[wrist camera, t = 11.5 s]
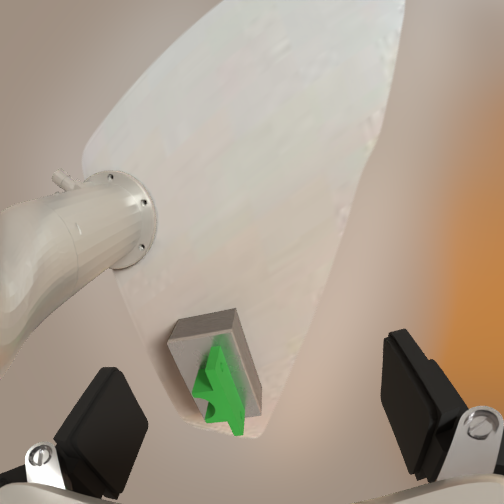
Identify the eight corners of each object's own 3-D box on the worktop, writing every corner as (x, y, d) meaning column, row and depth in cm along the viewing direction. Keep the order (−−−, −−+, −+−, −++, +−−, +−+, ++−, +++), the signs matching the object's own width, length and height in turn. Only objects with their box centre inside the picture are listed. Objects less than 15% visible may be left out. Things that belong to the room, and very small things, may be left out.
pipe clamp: (190, 349, 35) (181, 372, 30) (220, 344, 34) (214, 368, 30) (218, 414, 37) (214, 438, 33) (245, 411, 37) (243, 435, 33)
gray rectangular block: (178, 319, 40) (166, 343, 34) (235, 308, 39) (231, 332, 33) (211, 394, 44) (205, 421, 38) (261, 387, 43) (261, 415, 37)
